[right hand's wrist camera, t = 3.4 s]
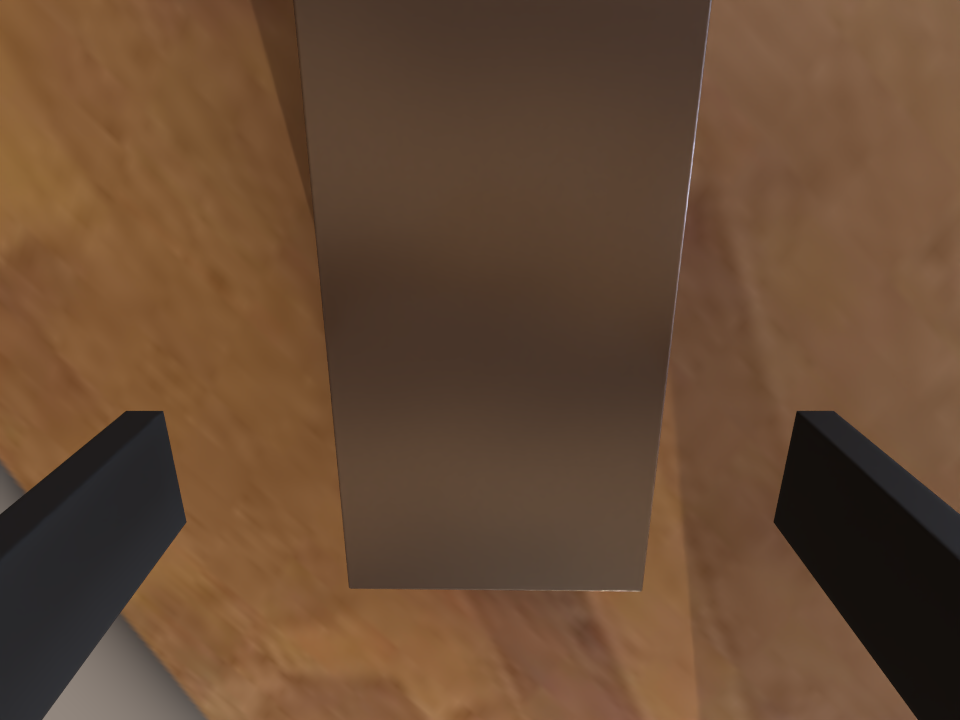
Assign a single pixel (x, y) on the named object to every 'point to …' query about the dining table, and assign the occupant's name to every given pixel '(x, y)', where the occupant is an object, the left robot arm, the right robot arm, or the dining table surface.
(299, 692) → the dining table surface
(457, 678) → the dining table surface
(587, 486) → the wide beam
